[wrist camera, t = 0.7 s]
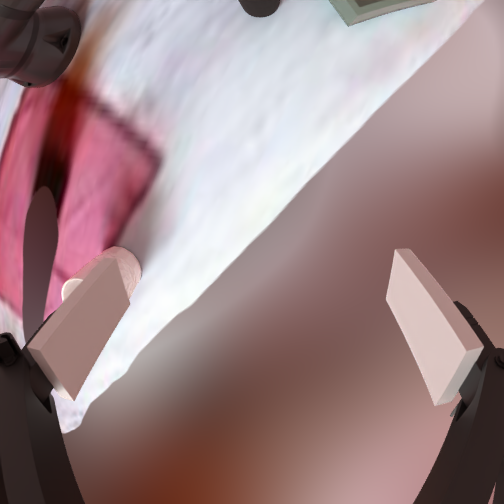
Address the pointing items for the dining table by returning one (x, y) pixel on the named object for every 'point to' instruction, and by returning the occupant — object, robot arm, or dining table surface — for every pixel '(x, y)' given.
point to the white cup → (126, 265)
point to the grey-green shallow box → (371, 8)
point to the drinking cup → (260, 7)
